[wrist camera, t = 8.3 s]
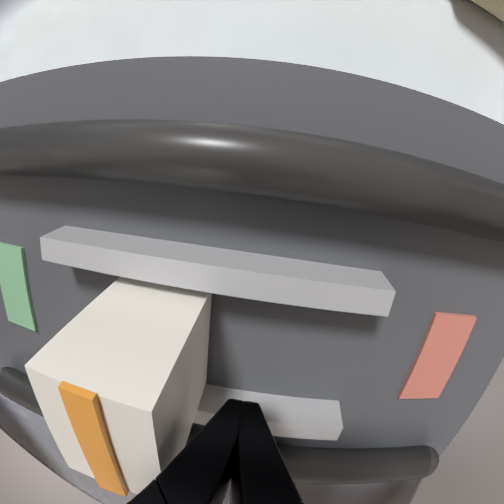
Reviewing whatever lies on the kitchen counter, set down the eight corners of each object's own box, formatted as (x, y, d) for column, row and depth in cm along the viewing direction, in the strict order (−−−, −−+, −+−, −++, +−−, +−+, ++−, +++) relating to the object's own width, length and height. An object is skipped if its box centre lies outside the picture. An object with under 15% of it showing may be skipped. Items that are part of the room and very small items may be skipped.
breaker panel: (414, 446, 16) (429, 498, 11) (29, 376, 17) (-4, 413, 13) (527, 151, 10) (591, 162, 6) (-1, 94, 11) (-61, 93, 7)
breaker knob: (206, 382, 11) (165, 509, 6) (132, 365, 11) (66, 472, 6) (212, 285, 10) (148, 417, 5) (125, 270, 10) (18, 368, 5)
